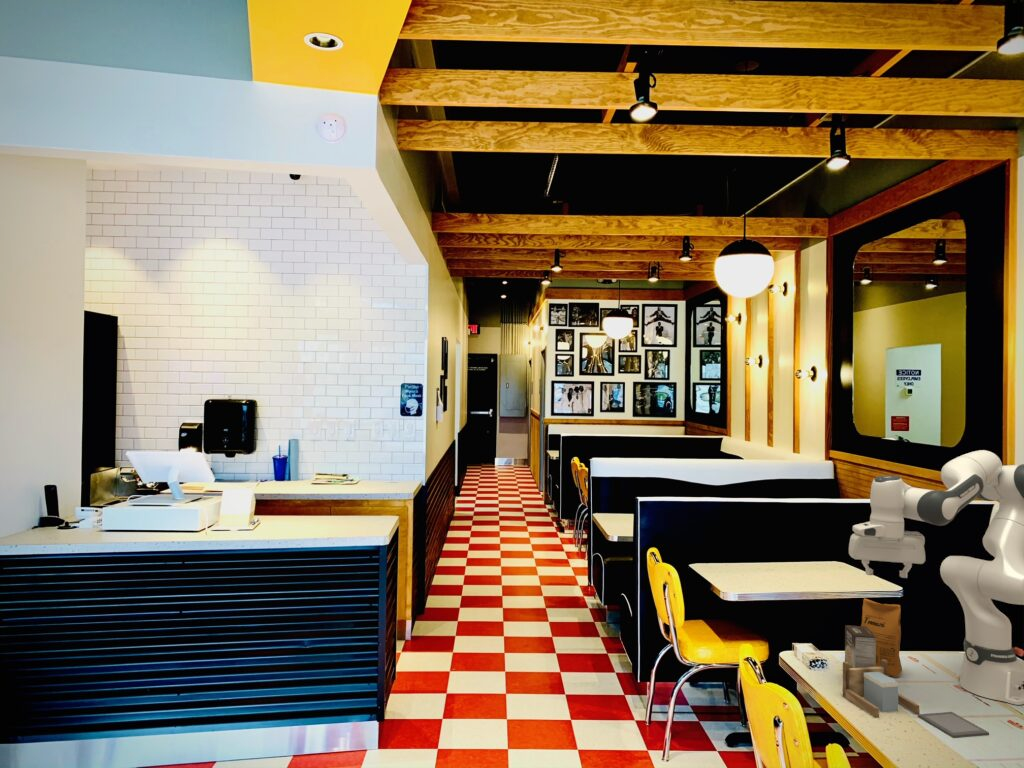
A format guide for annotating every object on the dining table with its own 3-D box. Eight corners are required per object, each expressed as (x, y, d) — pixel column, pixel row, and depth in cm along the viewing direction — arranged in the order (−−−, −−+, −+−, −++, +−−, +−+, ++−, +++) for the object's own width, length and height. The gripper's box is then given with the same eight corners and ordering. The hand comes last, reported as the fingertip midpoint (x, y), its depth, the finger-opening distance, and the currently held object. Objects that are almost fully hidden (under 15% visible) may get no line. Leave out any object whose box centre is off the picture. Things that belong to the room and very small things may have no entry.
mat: (951, 713, 172) (951, 711, 172) (989, 734, 161) (989, 732, 161) (917, 716, 170) (917, 714, 170) (953, 737, 159) (953, 735, 159)
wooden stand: (884, 693, 183) (884, 659, 184) (919, 714, 171) (919, 677, 171) (842, 696, 181) (842, 661, 181) (875, 717, 168) (875, 680, 169)
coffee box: (843, 675, 195) (844, 624, 196) (865, 677, 194) (866, 626, 195) (853, 688, 186) (853, 634, 187) (876, 690, 185) (877, 636, 186)
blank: (879, 699, 180) (879, 671, 180) (898, 711, 173) (898, 682, 173) (863, 700, 179) (863, 672, 179) (882, 712, 172) (882, 683, 172)
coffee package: (861, 659, 209) (861, 594, 209) (904, 670, 200) (904, 602, 201) (854, 668, 201) (854, 600, 202) (898, 680, 193) (898, 609, 194)
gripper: (919, 530, 187) (919, 576, 187) (847, 525, 191) (846, 570, 190) (929, 534, 181) (929, 581, 180) (854, 529, 184) (854, 576, 184)
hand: (886, 576), depth 185 cm, fingers open, 8 cm apart
